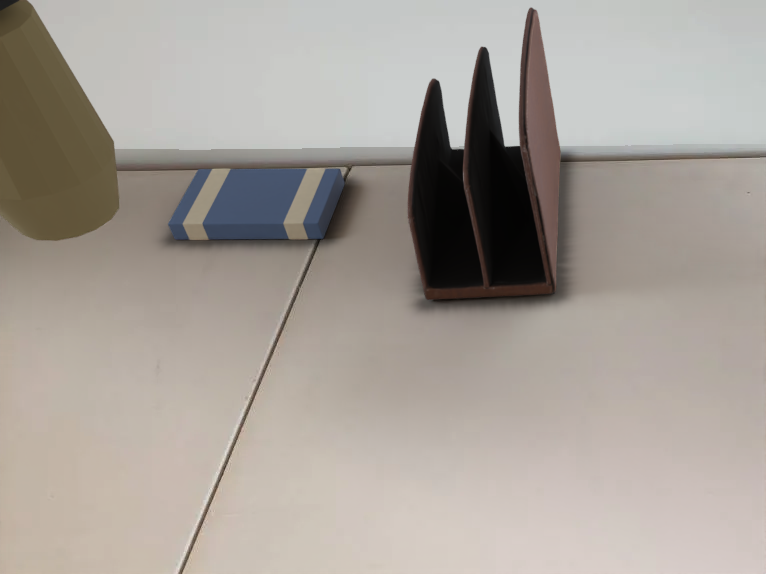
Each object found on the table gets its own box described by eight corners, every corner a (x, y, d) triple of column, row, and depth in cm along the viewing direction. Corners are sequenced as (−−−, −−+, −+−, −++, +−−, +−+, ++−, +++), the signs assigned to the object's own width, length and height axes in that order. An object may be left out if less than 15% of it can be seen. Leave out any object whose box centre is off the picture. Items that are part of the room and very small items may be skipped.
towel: (204, 184, 91) (198, 168, 90) (345, 184, 91) (340, 167, 90) (174, 240, 86) (167, 223, 85) (323, 239, 86) (318, 223, 85)
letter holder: (561, 156, 94) (540, -10, 83) (557, 296, 81) (531, 123, 71) (447, 161, 94) (410, -5, 83) (424, 303, 81) (378, 129, 70)
